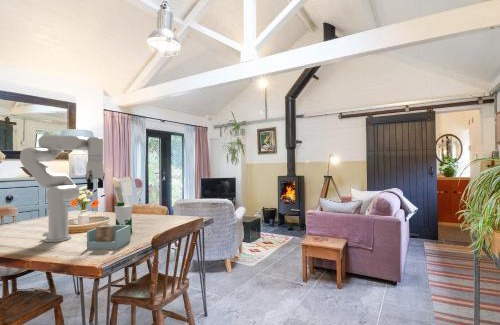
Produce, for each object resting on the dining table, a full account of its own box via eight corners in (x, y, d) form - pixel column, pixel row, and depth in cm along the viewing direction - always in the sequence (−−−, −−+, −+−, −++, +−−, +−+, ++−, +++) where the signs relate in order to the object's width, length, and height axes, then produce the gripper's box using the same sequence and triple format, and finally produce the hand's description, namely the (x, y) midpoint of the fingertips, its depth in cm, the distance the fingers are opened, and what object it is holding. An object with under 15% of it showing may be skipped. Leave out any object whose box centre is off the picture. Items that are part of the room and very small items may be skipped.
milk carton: (122, 232, 175) (122, 201, 175) (134, 232, 173) (134, 201, 173) (112, 235, 166) (112, 203, 166) (125, 236, 164) (125, 203, 165)
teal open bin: (86, 248, 140) (86, 231, 140) (103, 240, 155) (103, 225, 155) (117, 248, 140) (117, 231, 140) (130, 240, 155) (130, 225, 155)
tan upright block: (96, 246, 142) (96, 227, 142) (99, 244, 144) (99, 225, 144) (111, 246, 142) (111, 227, 142) (113, 244, 144) (113, 225, 144)
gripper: (97, 159, 162) (97, 187, 162) (79, 158, 145) (79, 190, 144) (110, 159, 162) (110, 187, 162) (92, 158, 144) (92, 190, 144)
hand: (95, 188), depth 153 cm, fingers open, 9 cm apart
